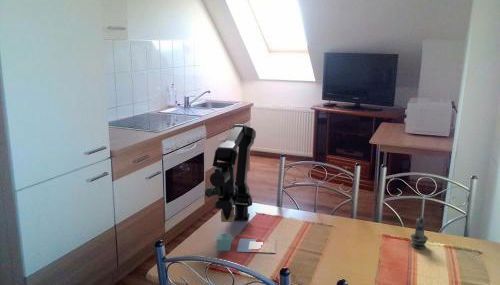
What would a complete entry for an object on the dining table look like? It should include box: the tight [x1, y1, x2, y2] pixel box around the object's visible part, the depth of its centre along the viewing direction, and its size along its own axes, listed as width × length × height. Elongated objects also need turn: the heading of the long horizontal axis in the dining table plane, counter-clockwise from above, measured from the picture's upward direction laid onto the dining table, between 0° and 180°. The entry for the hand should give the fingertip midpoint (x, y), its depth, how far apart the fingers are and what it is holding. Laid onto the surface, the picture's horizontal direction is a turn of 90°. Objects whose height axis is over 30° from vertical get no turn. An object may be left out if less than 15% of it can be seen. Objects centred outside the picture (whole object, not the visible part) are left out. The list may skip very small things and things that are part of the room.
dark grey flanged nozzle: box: [410, 215, 429, 251], centre depth 151 cm, size 6×6×12 cm
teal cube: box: [216, 233, 232, 252], centre depth 152 cm, size 4×4×4 cm
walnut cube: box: [220, 206, 235, 223], centre depth 160 cm, size 4×4×4 cm
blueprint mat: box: [236, 238, 263, 253], centre depth 154 cm, size 10×14×1 cm
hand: (227, 216), depth 161 cm, fingers closed on walnut cube, 4 cm apart
